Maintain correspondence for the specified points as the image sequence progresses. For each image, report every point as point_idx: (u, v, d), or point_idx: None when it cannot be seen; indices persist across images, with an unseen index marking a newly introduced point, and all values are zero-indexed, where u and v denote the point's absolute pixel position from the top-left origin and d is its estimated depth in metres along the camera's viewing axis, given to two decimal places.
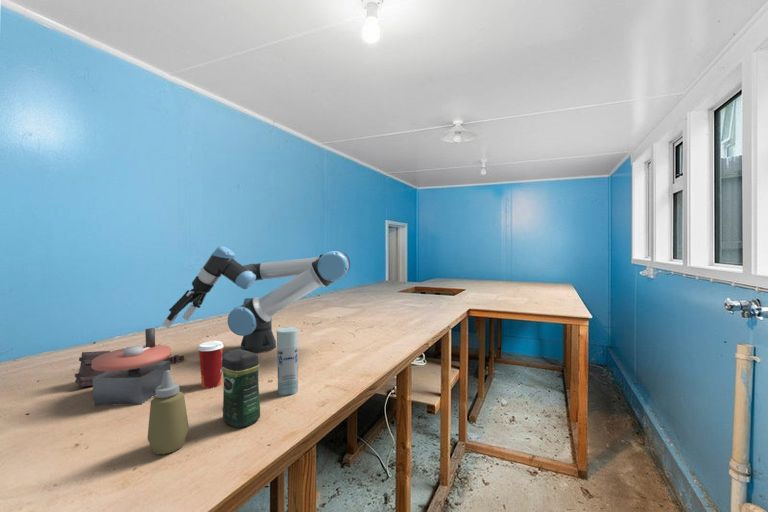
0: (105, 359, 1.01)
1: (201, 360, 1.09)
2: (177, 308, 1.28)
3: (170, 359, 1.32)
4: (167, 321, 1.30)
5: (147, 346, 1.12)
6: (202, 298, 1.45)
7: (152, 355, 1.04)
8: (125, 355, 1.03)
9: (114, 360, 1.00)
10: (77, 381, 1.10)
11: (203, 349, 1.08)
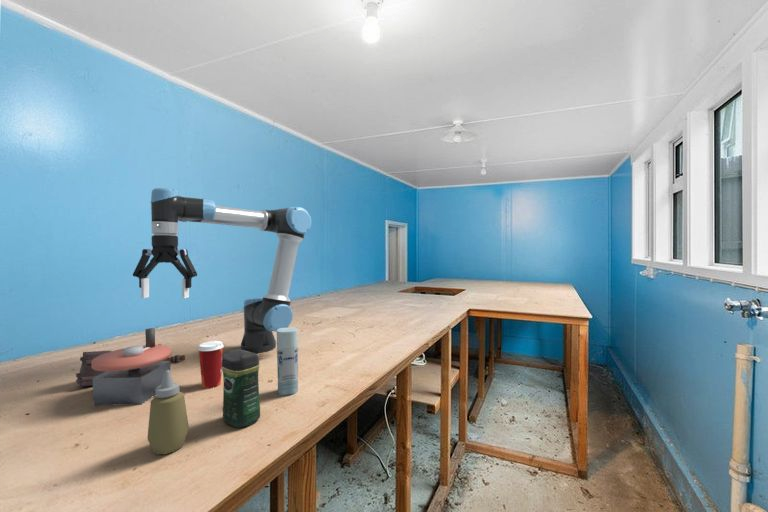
0: (105, 359, 1.01)
1: (201, 360, 1.09)
2: (194, 269, 1.14)
3: (171, 359, 1.32)
4: (186, 291, 1.13)
5: (147, 346, 1.12)
6: None
7: (152, 355, 1.04)
8: (125, 355, 1.03)
9: (114, 360, 1.00)
10: (78, 381, 1.11)
11: (203, 349, 1.08)
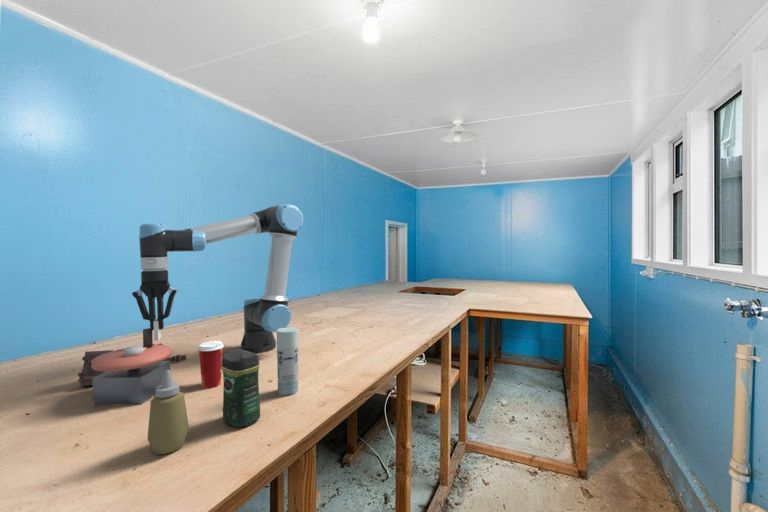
0: (105, 360, 1.00)
1: (201, 360, 1.09)
2: (170, 311, 1.15)
3: (172, 358, 1.33)
4: (159, 333, 1.13)
5: (145, 346, 1.12)
6: None
7: (154, 354, 1.05)
8: (126, 355, 1.03)
9: (116, 360, 1.00)
10: (80, 380, 1.11)
11: (203, 349, 1.08)
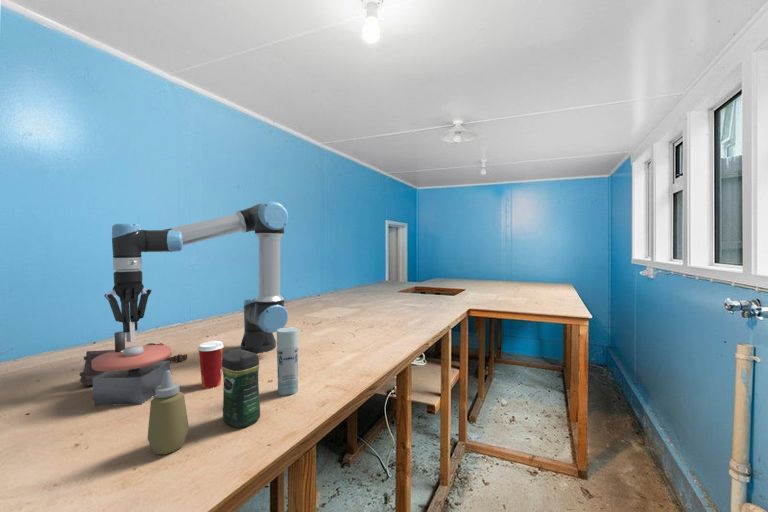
0: (122, 361, 0.99)
1: (201, 360, 1.09)
2: None
3: (173, 358, 1.33)
4: None
5: (121, 350, 1.08)
6: None
7: (158, 349, 1.11)
8: (134, 354, 1.04)
9: (136, 358, 1.01)
10: (82, 380, 1.11)
11: (203, 349, 1.08)
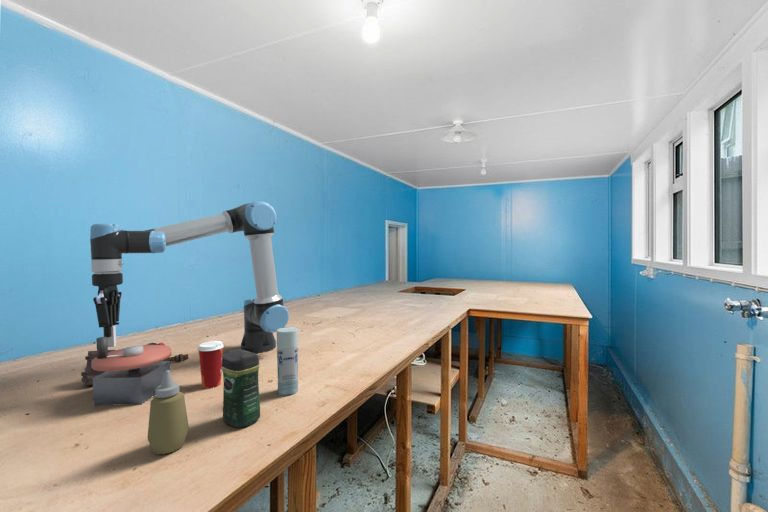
0: (144, 358, 1.02)
1: (201, 360, 1.09)
2: None
3: (174, 358, 1.33)
4: None
5: (107, 355, 1.03)
6: None
7: (145, 347, 1.12)
8: (141, 352, 1.05)
9: (151, 354, 1.05)
10: (83, 380, 1.12)
11: (203, 349, 1.08)
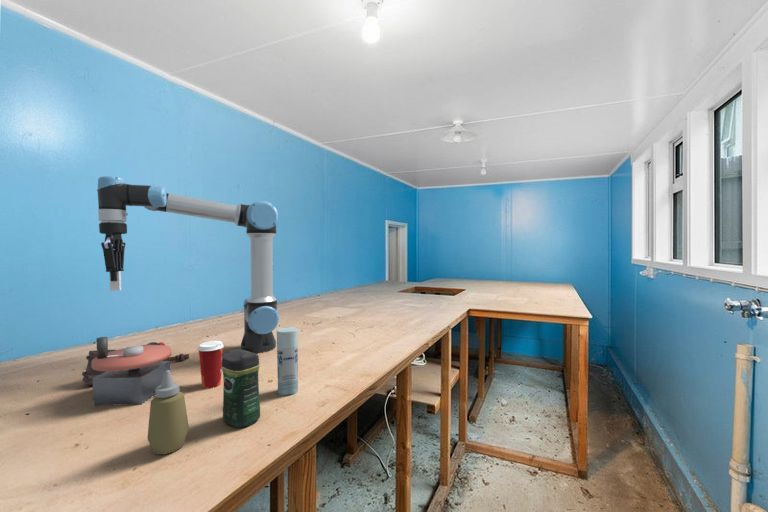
0: (144, 358, 1.02)
1: (201, 360, 1.09)
2: None
3: (175, 358, 1.33)
4: None
5: (107, 355, 1.03)
6: None
7: (145, 347, 1.12)
8: (141, 352, 1.05)
9: (151, 354, 1.05)
10: (85, 379, 1.12)
11: (203, 349, 1.08)
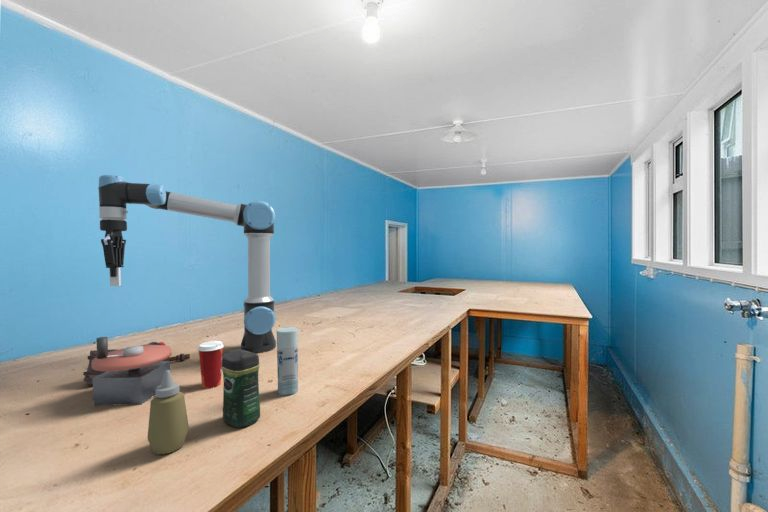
0: (144, 358, 1.02)
1: (201, 360, 1.09)
2: None
3: (176, 357, 1.34)
4: None
5: (107, 355, 1.03)
6: None
7: (145, 347, 1.12)
8: (141, 352, 1.05)
9: (151, 354, 1.05)
10: (86, 379, 1.12)
11: (203, 349, 1.08)
